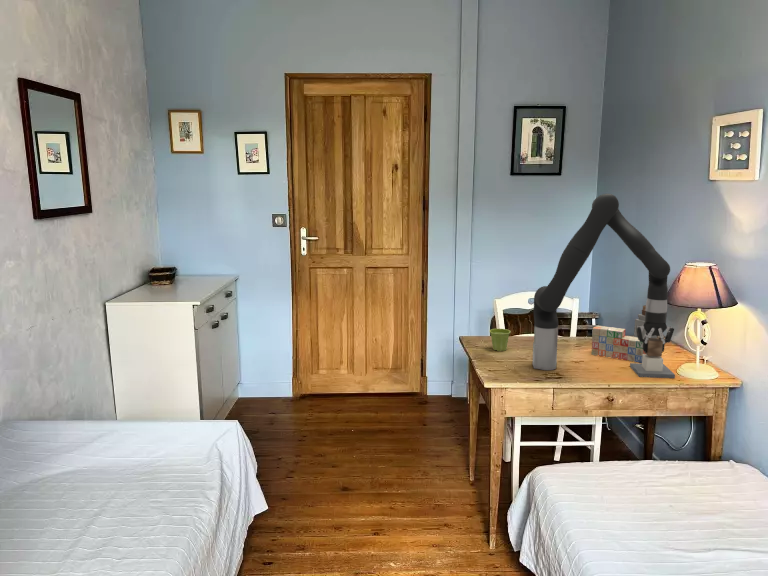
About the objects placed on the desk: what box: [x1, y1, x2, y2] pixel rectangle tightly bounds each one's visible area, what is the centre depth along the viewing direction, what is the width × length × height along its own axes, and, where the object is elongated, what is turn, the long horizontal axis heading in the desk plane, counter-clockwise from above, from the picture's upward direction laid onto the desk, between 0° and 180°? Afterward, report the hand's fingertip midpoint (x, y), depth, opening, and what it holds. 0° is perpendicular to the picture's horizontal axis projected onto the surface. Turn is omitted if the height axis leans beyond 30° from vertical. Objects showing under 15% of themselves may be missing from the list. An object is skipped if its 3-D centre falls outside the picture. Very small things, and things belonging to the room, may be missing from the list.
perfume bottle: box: [633, 309, 657, 338], centre depth 256 cm, size 7×7×18 cm
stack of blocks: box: [591, 325, 645, 364], centre depth 245 cm, size 21×6×12 cm, turn 52°
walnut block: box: [644, 338, 663, 357], centre depth 224 cm, size 5×5×6 cm
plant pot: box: [489, 328, 511, 352], centre depth 259 cm, size 9×9×9 cm
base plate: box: [629, 354, 676, 379], centre depth 225 cm, size 13×13×6 cm
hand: (653, 352), depth 224 cm, fingers closed on walnut block, 5 cm apart
